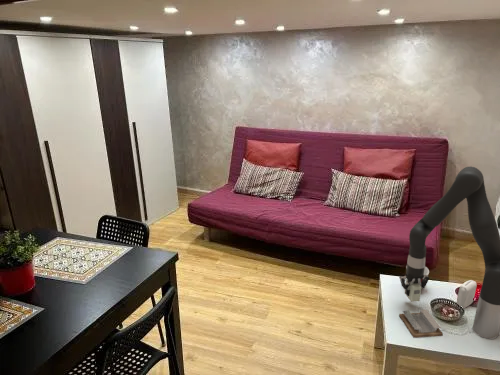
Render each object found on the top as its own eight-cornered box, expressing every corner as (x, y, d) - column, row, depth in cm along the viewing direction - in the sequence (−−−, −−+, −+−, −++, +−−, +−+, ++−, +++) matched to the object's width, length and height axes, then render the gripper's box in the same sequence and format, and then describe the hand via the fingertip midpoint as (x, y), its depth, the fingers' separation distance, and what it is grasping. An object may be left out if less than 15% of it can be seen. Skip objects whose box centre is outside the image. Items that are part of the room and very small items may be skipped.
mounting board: (426, 314, 171) (426, 312, 170) (442, 335, 157) (443, 333, 157) (399, 316, 170) (399, 313, 170) (413, 337, 157) (413, 335, 156)
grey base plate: (425, 313, 169) (426, 309, 168) (440, 332, 158) (440, 327, 157) (401, 315, 169) (402, 311, 168) (414, 333, 157) (415, 329, 157)
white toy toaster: (465, 297, 182) (469, 276, 178) (474, 302, 178) (479, 280, 174) (454, 305, 176) (458, 283, 172) (463, 310, 173) (468, 288, 169)
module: (412, 292, 179) (414, 278, 176) (420, 301, 171) (421, 287, 169) (404, 293, 178) (406, 279, 176) (411, 302, 171) (413, 288, 169)
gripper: (404, 269, 165) (401, 300, 171) (435, 267, 166) (430, 298, 171) (397, 260, 172) (394, 291, 178) (426, 258, 173) (422, 289, 179)
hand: (412, 294), depth 175 cm, fingers closed on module, 4 cm apart
